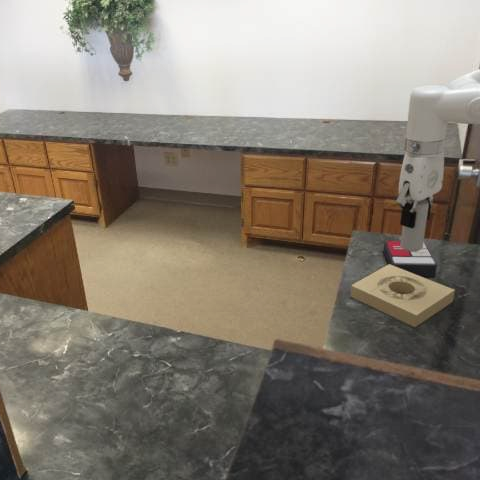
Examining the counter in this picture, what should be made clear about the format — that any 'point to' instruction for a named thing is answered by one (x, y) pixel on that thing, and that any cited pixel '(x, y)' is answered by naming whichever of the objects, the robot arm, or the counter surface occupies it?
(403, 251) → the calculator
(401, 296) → the socket pad
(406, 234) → the beverage can
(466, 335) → the counter surface
